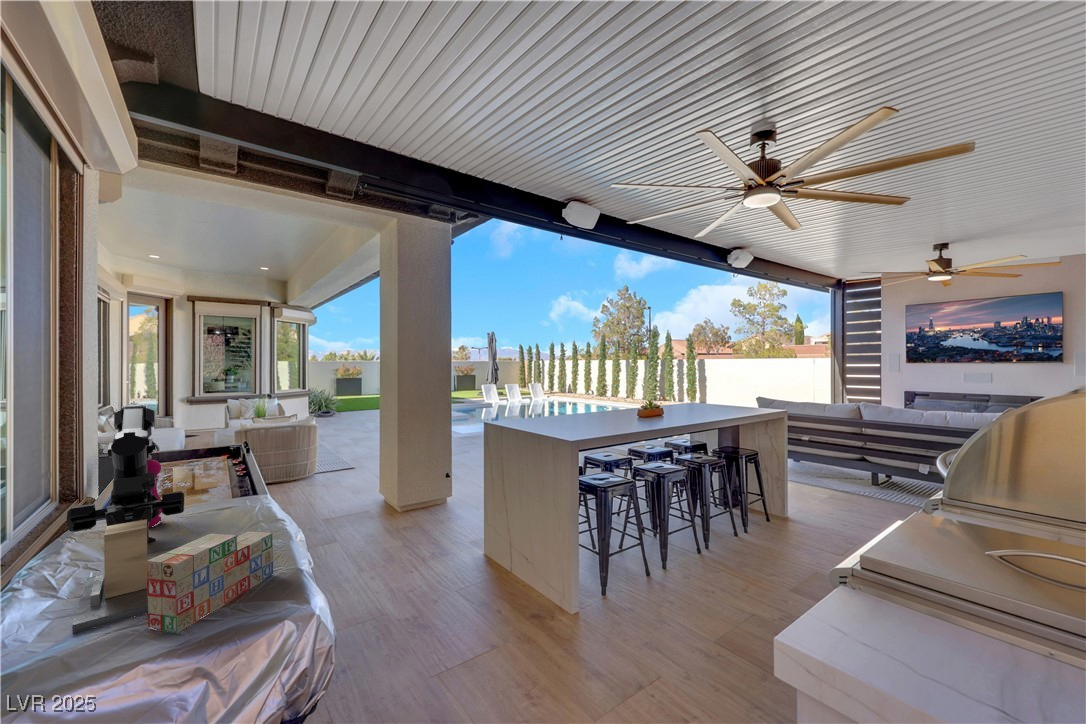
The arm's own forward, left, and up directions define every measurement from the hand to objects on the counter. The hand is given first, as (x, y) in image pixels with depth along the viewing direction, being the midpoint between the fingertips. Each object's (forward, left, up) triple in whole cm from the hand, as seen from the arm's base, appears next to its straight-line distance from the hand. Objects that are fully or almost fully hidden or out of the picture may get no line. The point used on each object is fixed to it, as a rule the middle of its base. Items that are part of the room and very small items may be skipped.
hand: (128, 546), depth 96 cm
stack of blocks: (+24, +4, -8) cm, 26 cm away
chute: (+5, -3, -8) cm, 10 cm away
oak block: (+6, -3, -6) cm, 9 cm away
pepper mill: (-36, +19, -8) cm, 41 cm away
